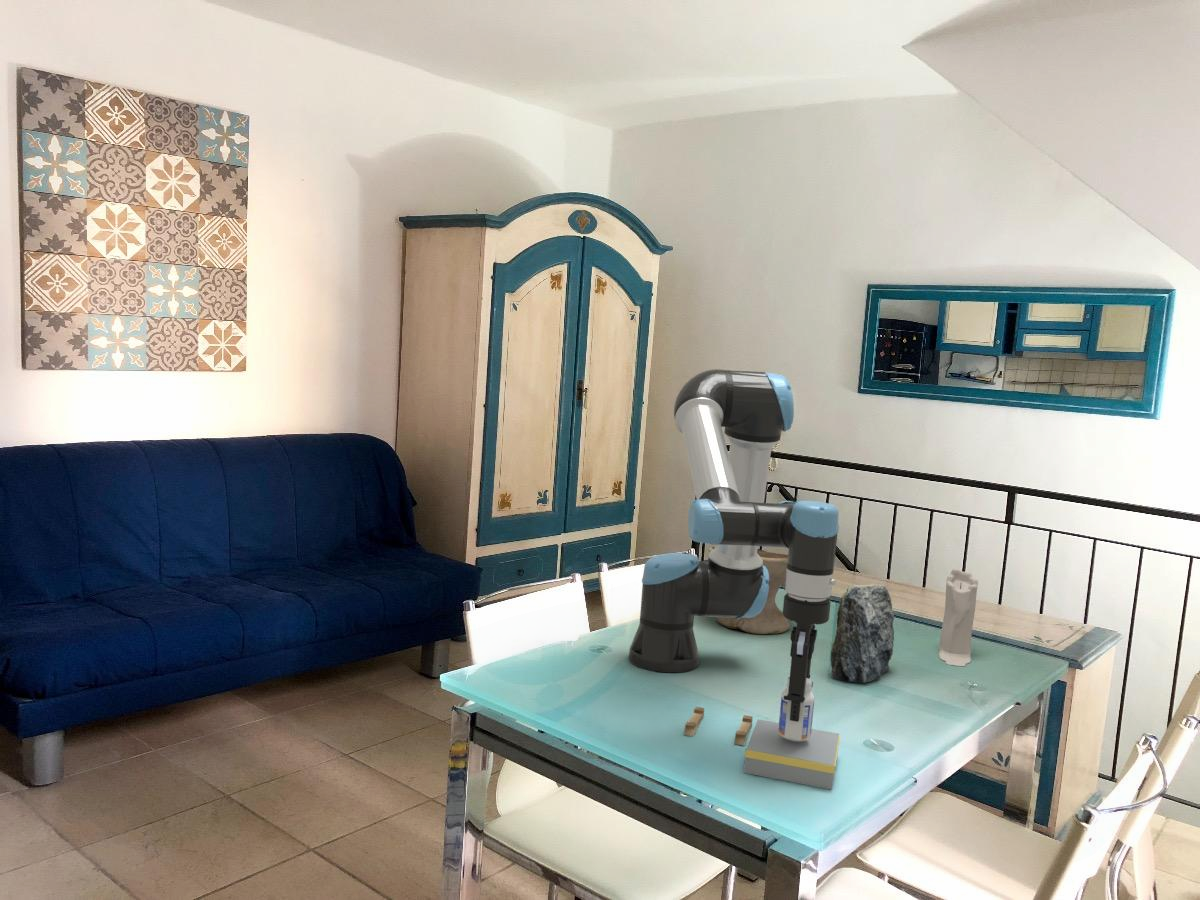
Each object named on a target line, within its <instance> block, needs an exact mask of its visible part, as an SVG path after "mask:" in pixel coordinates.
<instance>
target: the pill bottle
mask: <svg viewBox="0 0 1200 900" xmlns="http://www.w3.org/2000/svg"><path fill="white" fill-rule="evenodd" d="M789 679H790V676H787V681H786V687H787V688H785V689H783V690H782V693H781V697H780V707H779V708H780V710H779V720H778V723H779V728H778V732H779V735H780V736H782V737H783V738H785V737H784V736H785V725H786V714H787V704H788V700H784V696H787V694H788V690H789ZM812 682H813V680H812V679H811V678H810V679H808V678H806V686H805V695H804V697H805V707H804V717H803V728H802V738H801V740H796V739H791V738H785V739H788V740H791V741H806V740H808V739H809V738H810V737H811V729H813V718H814V717H813V716H814V707H815V696H814V693H812V692H811V690H812V688H813V687H812Z"/></svg>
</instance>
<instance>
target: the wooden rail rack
mask: <svg viewBox="0 0 1200 900" xmlns="http://www.w3.org/2000/svg"><path fill="white" fill-rule="evenodd" d="M704 718H705V708H704V707H700V706H695V707H694V709H693V714H692V715H691V716H690V719H689V720H688V721H686V722H685V726H684V731H683V732H684V733H683V734H684V735H683V736H687V737H688V736H689V737H694V736H695V733H696V732H697V730H698V728H699V727H700V725H701V722H702V721H703V719H704ZM752 726H753V716H751V715H746V714H744V715H742V720H741V723H740V726H739V728H738V730H736V732H735V738H734V745H738V746H745V744H746V741H747V738H748V736H749V734H750V732H751V729H752Z"/></svg>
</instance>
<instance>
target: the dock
mask: <svg viewBox="0 0 1200 900" xmlns="http://www.w3.org/2000/svg"><path fill="white" fill-rule="evenodd" d="M778 728H779V722H775V721H768V720H763V719H759V718H758V719H757V721H756V723H755V726H754V728H753V731H752V733H751V736H750V737H749V741H748V743H747V747H746V749H745V753H744V758H745V759H744V770H743V773H744V774H749V775H754V776H759V777H764V778H769V779H775V780H781V781H786V782H791V783H797V784H802V785H805V786H811V787H817V788H822V789H827V790H833V783H834V777H835V771H836V766H837V765H836V764H837V759H838V752H839V746H840V738H841V734H840V733H838V732H832V731H828V730H827V731H826V730H821V729H815V728H812V729H811V737H810V738H809V739H808V740H806V741H791V740H788V739H785V738H783V737H782V736H780V735H779V732H778Z"/></svg>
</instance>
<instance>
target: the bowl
mask: <svg viewBox="0 0 1200 900" xmlns="http://www.w3.org/2000/svg"><path fill="white" fill-rule="evenodd" d="M715 548H716V547H714V546H711V547H710V546H709V548H708V552H709V553H710V552H711V551H712V550H714V549H715ZM709 553H708V554H709ZM757 554H758V555H759V556H760V557H761V558H762V560H763V566H765V567H766V568H767V570H768V573H769V583H768V585H769V591H768V596H767V600H766V603H765V606H764V608H763V609H762V611H761V612H760V613H759V614H758V615H757V616H755V617H752V618H740V619H736V618H727V617H716V621H717V623H718V624H720V625H721V626H723V627H725V628H727V629H730V630H731V629H732V630H733V629H735V630H740V631H742V632H744V633H748V634H758V635H770V634H775V635H776V634H783V633H785V632H787V631H788V630H789V629H790V628H791V627H790V623H789V620H788V619H786V618H785V617H784V616H783V610H781V609H780V608H778V606H777V603H776V596H777V593H778V591H779V589H780V588H781V586H783V585H785V579H786V568H787V563H788V554H783V553H777V552H776V553H775V552H769V551H764V550H759V549H757Z"/></svg>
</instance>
